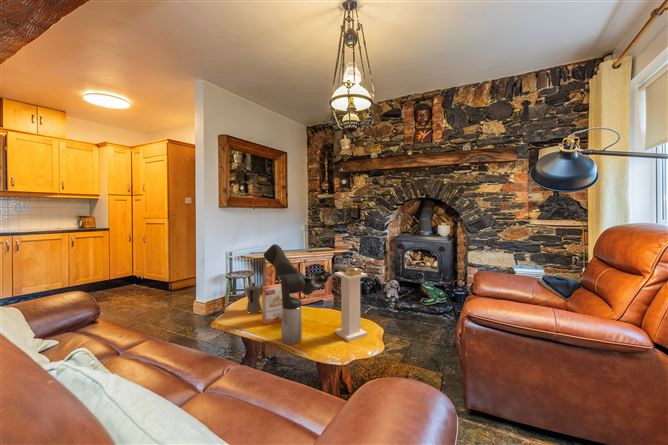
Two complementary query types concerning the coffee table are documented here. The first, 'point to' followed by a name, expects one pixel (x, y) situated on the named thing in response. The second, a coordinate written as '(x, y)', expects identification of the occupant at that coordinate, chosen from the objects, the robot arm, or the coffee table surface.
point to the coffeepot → (253, 298)
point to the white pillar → (350, 307)
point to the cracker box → (272, 304)
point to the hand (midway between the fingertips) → (331, 270)
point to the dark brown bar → (348, 270)
